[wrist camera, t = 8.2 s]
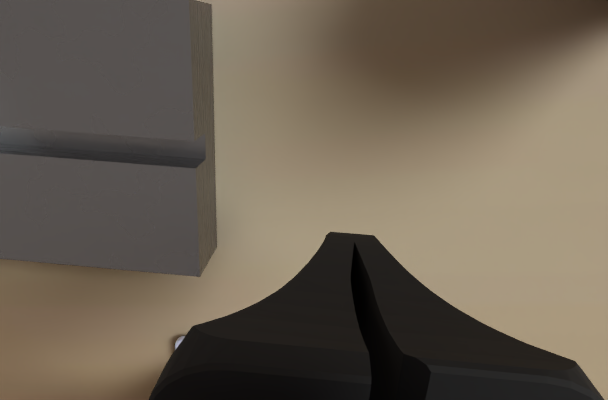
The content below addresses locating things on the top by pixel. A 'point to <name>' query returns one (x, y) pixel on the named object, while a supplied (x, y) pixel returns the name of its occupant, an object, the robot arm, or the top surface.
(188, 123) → the fader console
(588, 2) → the top surface
